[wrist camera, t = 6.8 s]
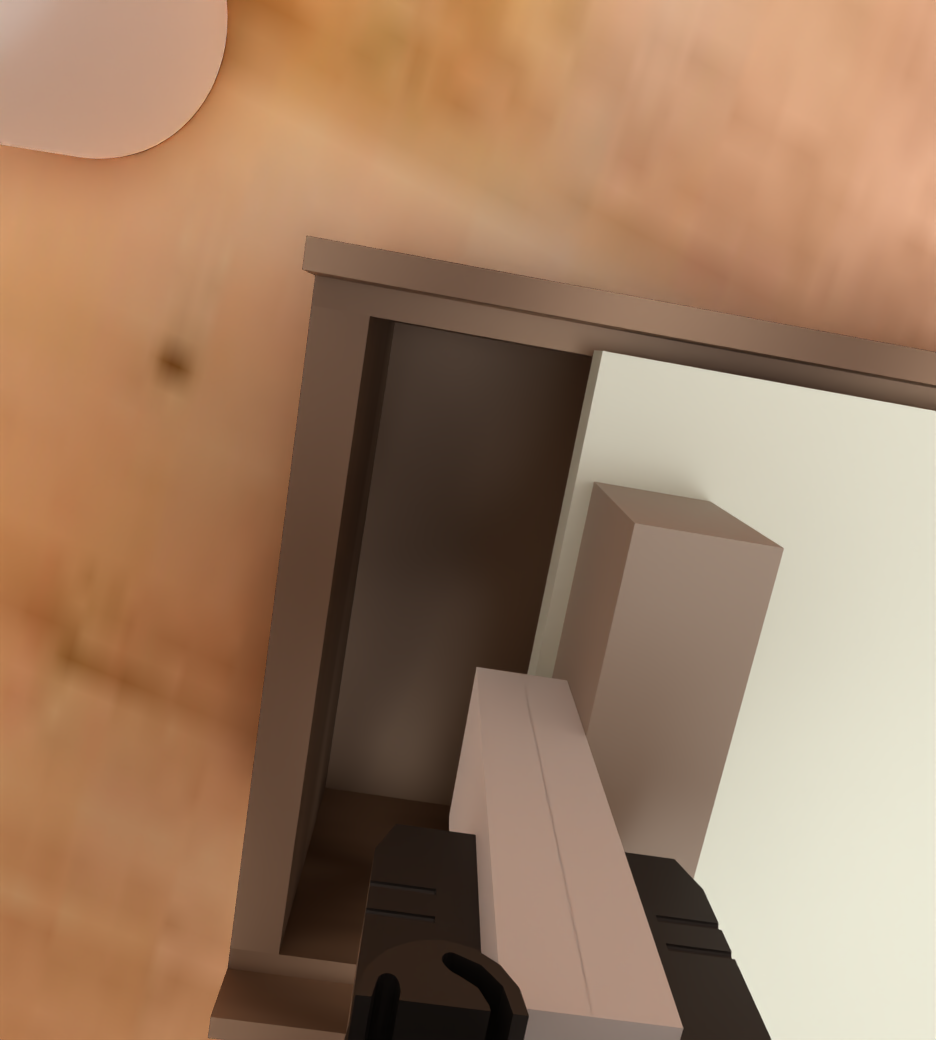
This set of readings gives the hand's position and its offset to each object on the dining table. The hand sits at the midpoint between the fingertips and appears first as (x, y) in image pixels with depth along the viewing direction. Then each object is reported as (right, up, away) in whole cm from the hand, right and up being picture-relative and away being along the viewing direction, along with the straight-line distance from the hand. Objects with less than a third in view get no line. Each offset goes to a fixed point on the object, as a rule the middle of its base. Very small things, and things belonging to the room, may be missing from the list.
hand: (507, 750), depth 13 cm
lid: (+8, -1, +2) cm, 8 cm away
